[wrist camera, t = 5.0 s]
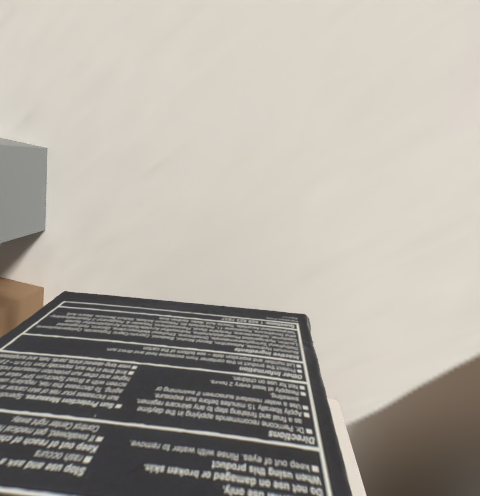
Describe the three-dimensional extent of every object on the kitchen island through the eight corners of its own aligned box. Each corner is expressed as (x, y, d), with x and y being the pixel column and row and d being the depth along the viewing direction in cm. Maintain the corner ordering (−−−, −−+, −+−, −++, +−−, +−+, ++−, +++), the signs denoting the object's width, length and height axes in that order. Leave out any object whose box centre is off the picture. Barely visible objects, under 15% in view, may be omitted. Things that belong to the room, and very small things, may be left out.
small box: (74, 411, 15) (-328, 934, 5) (60, 286, 13) (-624, 706, 3) (294, 437, 14) (361, 1107, 4) (312, 310, 12) (505, 946, 2)
